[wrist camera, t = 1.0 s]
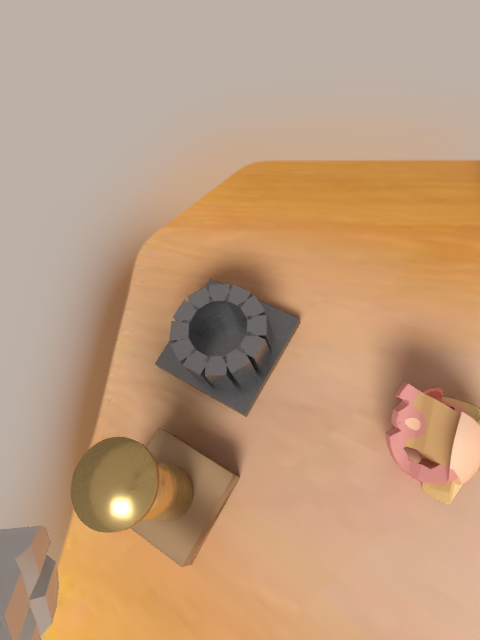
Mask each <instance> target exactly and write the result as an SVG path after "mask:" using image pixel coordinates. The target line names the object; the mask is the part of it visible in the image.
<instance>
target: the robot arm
mask: <svg viewBox="0 0 480 640" xmlns="http://www.w3.org/2000/svg"><path fill="white" fill-rule="evenodd" d="M49 545H50V539H49V535H48V532H47V529H46V527H43V526H36V527H24V528H12V529H1V530H0V640H41V637H40V636H41V635H42V634H43V633H44V632H45V631H46V630H47V628H48V627H49V626H50V625H51V624H52V622H53V618H54V614H55V610H56V607H57V599H58V589H59V581H58V571H57V566H56V562H55V561H54V560H53V559H51V558H50V557H49V556H47V552H48V548H49Z"/></svg>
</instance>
